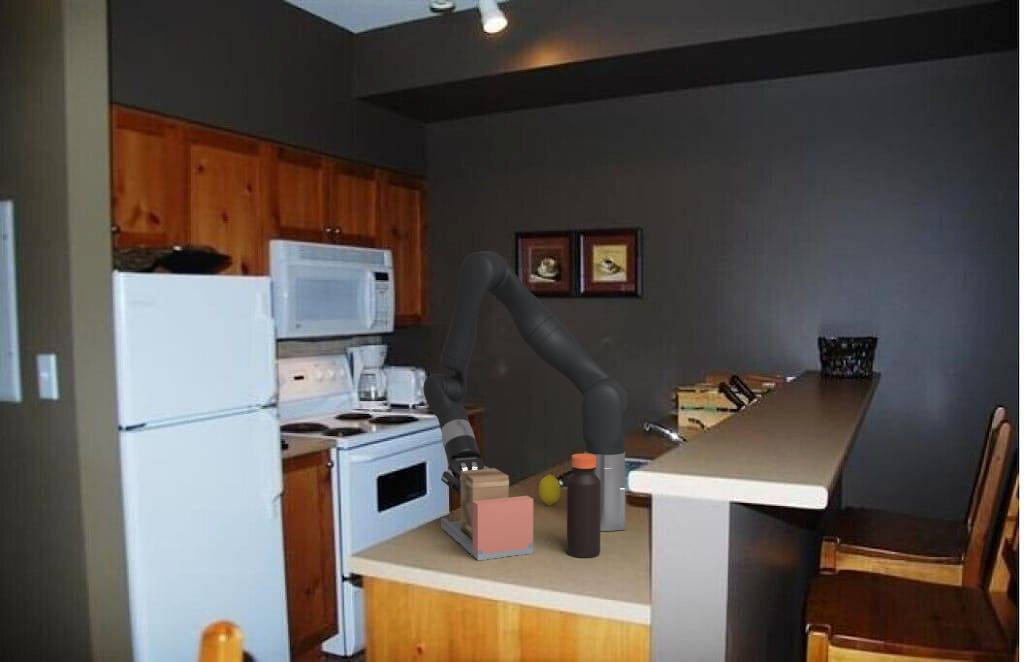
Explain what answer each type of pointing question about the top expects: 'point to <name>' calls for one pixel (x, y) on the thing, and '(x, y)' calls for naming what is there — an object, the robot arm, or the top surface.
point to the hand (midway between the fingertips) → (477, 507)
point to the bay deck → (467, 543)
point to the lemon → (549, 490)
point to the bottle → (583, 508)
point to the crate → (480, 492)
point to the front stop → (502, 524)
